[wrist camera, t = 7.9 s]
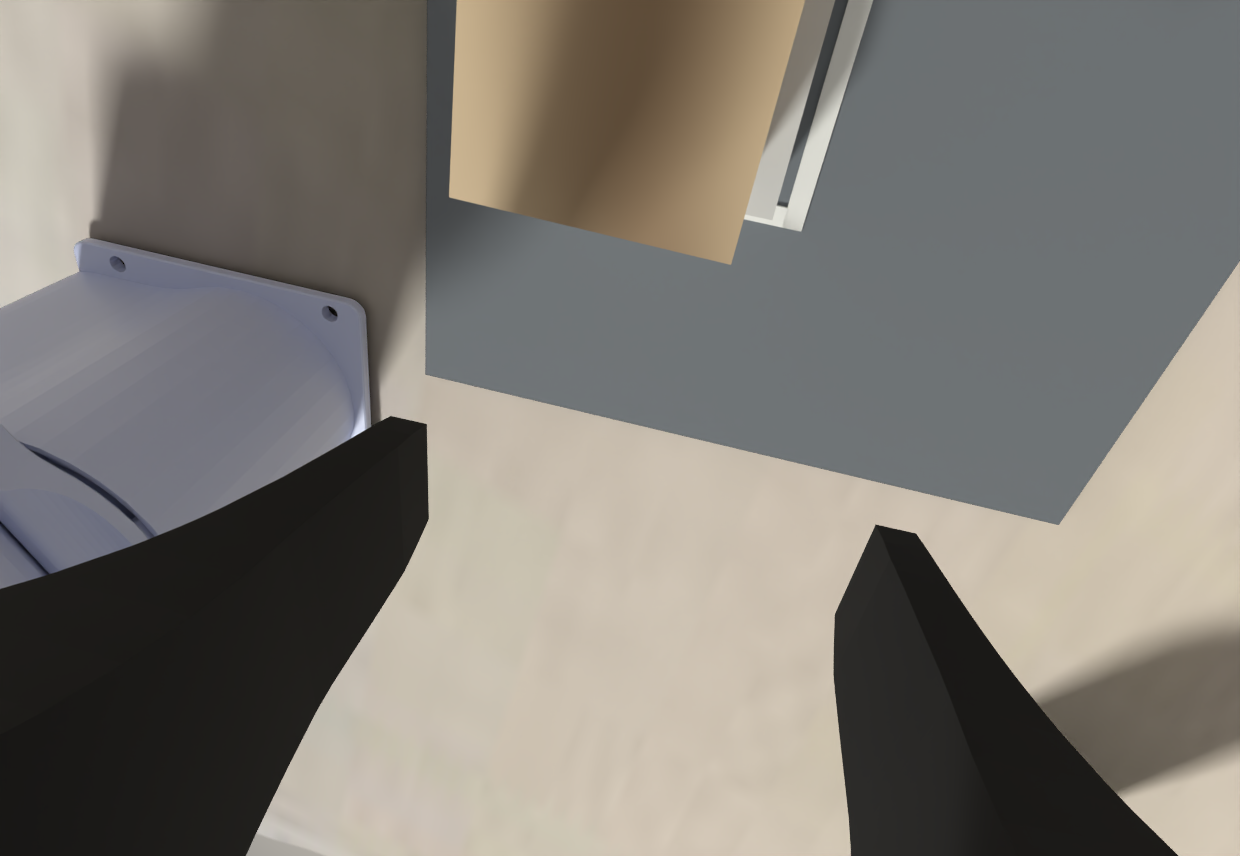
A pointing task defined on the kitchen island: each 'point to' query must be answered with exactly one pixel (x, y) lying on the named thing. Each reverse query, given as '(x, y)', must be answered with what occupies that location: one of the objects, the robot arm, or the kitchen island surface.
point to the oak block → (619, 113)
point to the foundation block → (789, 108)
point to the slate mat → (895, 254)
